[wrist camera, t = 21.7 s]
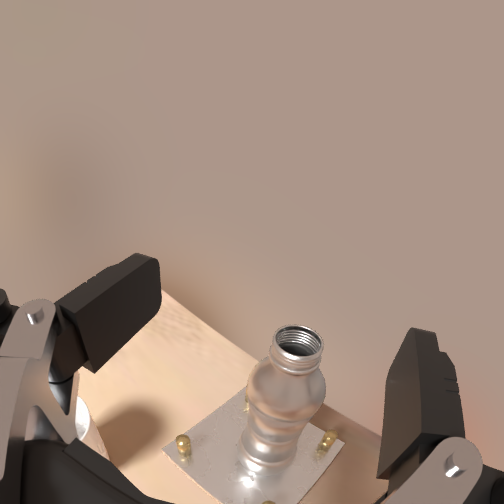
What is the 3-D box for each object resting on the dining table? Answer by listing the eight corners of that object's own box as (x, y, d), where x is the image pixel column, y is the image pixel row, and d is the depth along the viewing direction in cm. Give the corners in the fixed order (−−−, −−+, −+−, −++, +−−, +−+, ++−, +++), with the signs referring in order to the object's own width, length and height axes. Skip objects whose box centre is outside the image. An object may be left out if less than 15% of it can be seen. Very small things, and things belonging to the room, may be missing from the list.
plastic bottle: (252, 428, 34) (276, 302, 25) (300, 450, 31) (353, 332, 22) (224, 463, 29) (233, 346, 20) (275, 490, 26) (326, 388, 17)
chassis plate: (342, 447, 33) (352, 431, 31) (265, 536, 21) (271, 530, 19) (248, 388, 41) (251, 370, 39) (162, 453, 30) (157, 438, 28)
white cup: (66, 429, 29) (37, 382, 25) (119, 442, 30) (98, 397, 26) (50, 476, 22) (12, 437, 18) (109, 494, 23) (79, 461, 18)
